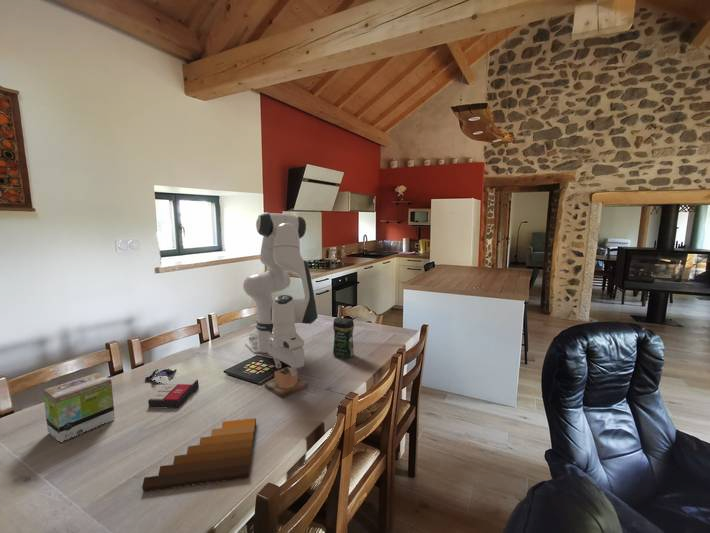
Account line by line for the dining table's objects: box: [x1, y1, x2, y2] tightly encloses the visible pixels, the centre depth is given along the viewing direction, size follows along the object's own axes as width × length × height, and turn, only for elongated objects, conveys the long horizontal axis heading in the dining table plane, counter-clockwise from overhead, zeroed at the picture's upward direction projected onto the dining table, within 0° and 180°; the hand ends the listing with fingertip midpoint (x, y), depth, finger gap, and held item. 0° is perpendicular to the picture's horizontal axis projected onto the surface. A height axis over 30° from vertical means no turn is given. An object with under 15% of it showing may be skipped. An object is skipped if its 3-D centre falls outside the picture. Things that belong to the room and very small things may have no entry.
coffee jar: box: [332, 316, 355, 360], centre depth 169 cm, size 10×8×19 cm
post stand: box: [264, 366, 309, 399], centre depth 139 cm, size 12×12×8 cm
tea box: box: [42, 372, 116, 443], centre depth 113 cm, size 15×10×15 cm, turn 148°
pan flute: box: [141, 418, 257, 492], centre depth 101 cm, size 25×3×25 cm
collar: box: [274, 366, 299, 388], centre depth 139 cm, size 6×6×4 cm
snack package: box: [144, 368, 178, 384], centre depth 146 cm, size 12×6×12 cm
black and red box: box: [147, 378, 200, 409], centre depth 132 cm, size 11×4×15 cm
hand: (285, 371), depth 139 cm, fingers open, 8 cm apart
